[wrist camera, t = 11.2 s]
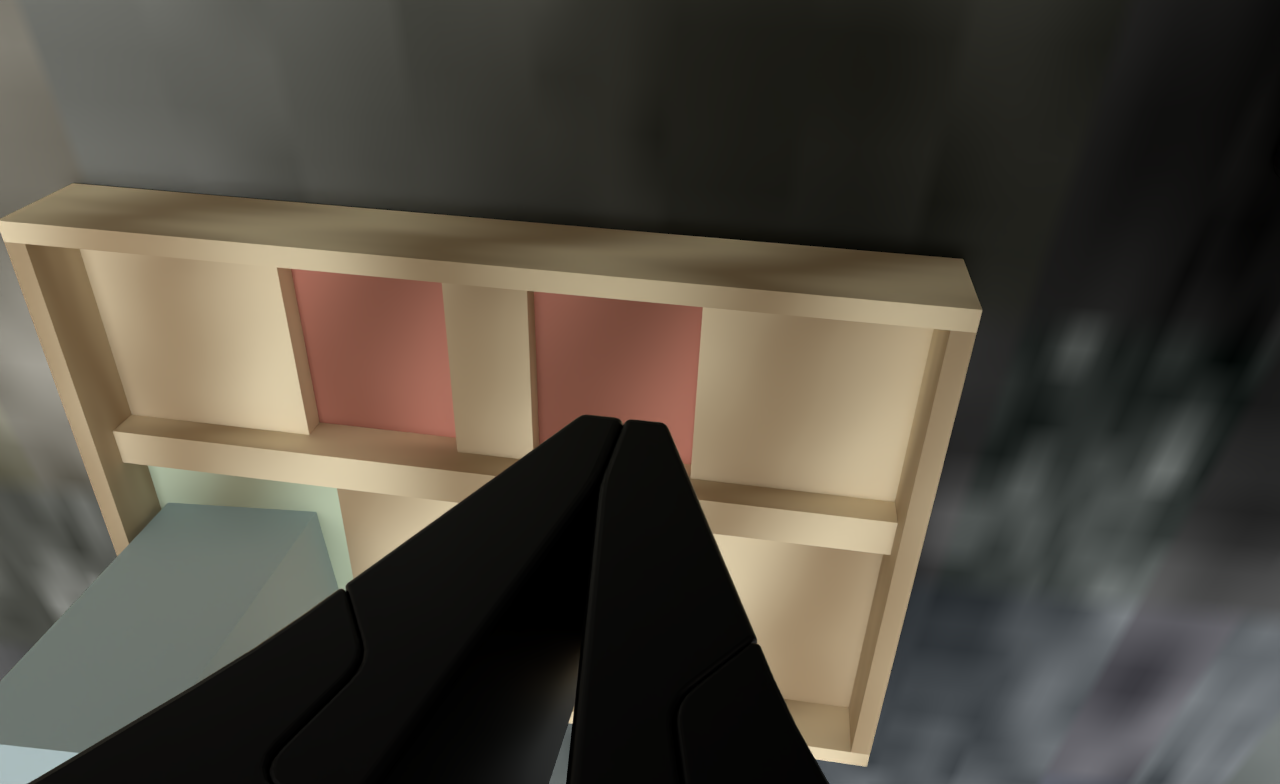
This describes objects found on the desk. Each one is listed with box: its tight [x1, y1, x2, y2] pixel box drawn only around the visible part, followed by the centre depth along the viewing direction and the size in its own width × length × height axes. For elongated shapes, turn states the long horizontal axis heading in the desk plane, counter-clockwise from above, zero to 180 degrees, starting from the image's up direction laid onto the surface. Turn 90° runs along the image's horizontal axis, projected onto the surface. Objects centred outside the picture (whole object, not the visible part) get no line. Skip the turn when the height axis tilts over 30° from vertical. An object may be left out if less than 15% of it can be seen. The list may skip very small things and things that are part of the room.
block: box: [0, 503, 339, 784], centre depth 23 cm, size 4×4×8 cm
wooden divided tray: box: [0, 183, 982, 767], centre depth 24 cm, size 21×14×2 cm, turn 88°
